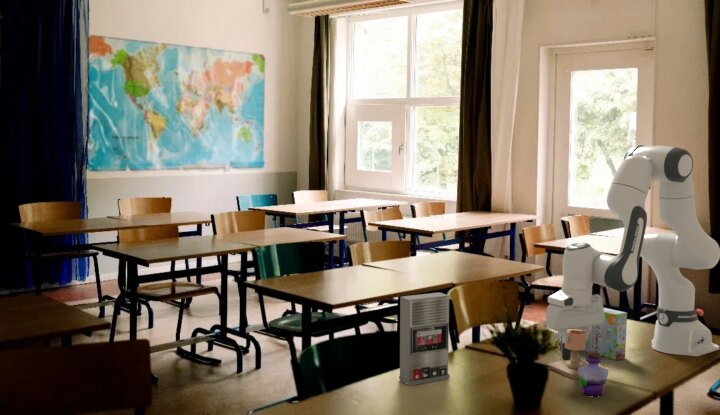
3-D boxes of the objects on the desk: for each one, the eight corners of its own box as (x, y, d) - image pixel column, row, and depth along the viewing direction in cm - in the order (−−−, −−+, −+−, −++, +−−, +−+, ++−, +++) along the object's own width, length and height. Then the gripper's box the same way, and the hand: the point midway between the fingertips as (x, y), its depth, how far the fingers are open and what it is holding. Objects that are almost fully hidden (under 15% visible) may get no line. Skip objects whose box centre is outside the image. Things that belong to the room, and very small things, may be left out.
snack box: (626, 358, 247) (628, 312, 246) (615, 360, 244) (617, 314, 242) (574, 343, 265) (575, 300, 263) (563, 345, 261) (564, 302, 260)
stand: (576, 362, 242) (576, 340, 241) (603, 373, 231) (604, 349, 230) (545, 367, 237) (546, 344, 236) (572, 378, 226) (573, 354, 225)
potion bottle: (570, 394, 212) (572, 352, 211) (584, 386, 219) (586, 345, 217) (600, 401, 206) (601, 358, 205) (613, 393, 213) (615, 351, 212)
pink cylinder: (575, 344, 237) (576, 328, 237) (589, 349, 232) (590, 332, 231) (560, 346, 234) (561, 330, 234) (574, 351, 229) (574, 335, 229)
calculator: (574, 360, 245) (575, 314, 243) (560, 359, 245) (561, 313, 244) (571, 350, 255) (573, 306, 254) (558, 349, 256) (559, 305, 255)
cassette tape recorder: (409, 386, 219) (410, 300, 216) (399, 380, 224) (399, 296, 222) (450, 379, 225) (451, 296, 223) (438, 373, 230) (439, 292, 228)
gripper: (595, 292, 239) (593, 335, 240) (543, 297, 230) (542, 342, 231) (610, 295, 233) (608, 340, 235) (557, 301, 224) (556, 347, 226)
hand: (575, 341), depth 233 cm, fingers closed on pink cylinder, 6 cm apart
